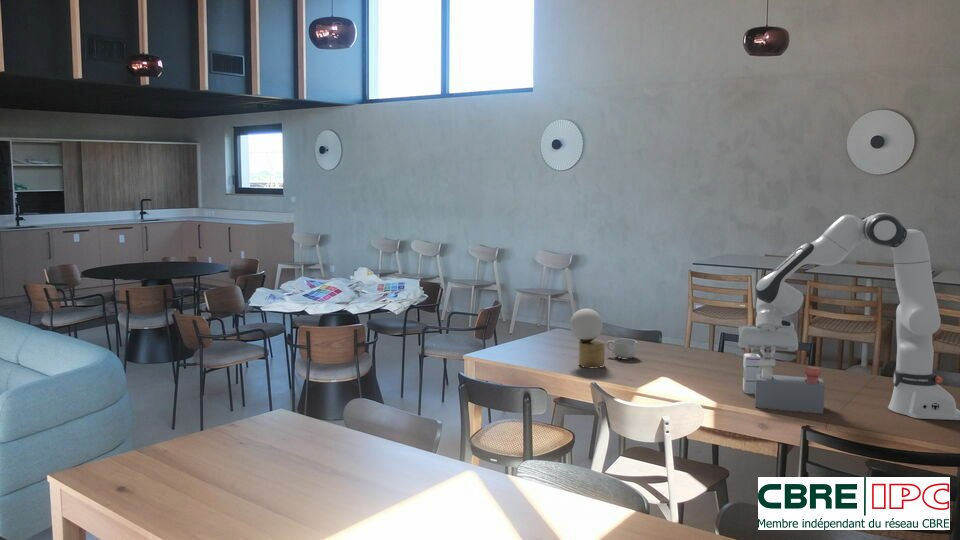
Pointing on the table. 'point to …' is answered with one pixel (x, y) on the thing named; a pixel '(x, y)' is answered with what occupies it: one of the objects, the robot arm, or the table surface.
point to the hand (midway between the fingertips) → (767, 358)
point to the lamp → (588, 337)
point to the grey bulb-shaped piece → (767, 368)
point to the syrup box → (750, 372)
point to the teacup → (623, 347)
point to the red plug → (812, 374)
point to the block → (789, 394)
